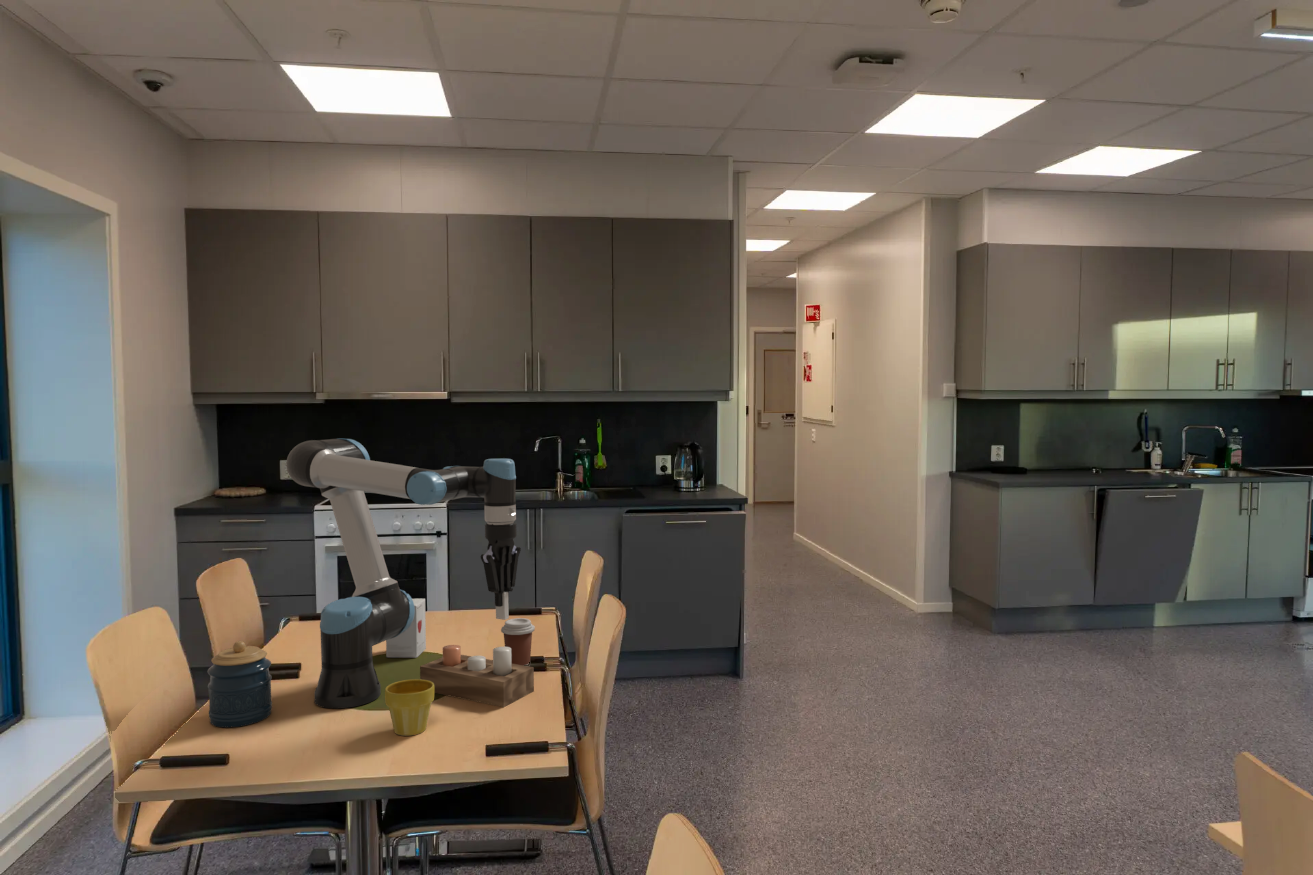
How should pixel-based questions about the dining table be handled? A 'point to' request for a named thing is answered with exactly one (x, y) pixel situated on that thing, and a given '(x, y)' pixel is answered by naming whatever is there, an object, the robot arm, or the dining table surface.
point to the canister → (239, 686)
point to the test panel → (479, 682)
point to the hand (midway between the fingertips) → (502, 618)
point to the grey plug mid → (476, 663)
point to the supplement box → (410, 636)
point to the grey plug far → (502, 661)
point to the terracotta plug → (451, 655)
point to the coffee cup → (518, 639)
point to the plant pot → (409, 705)
